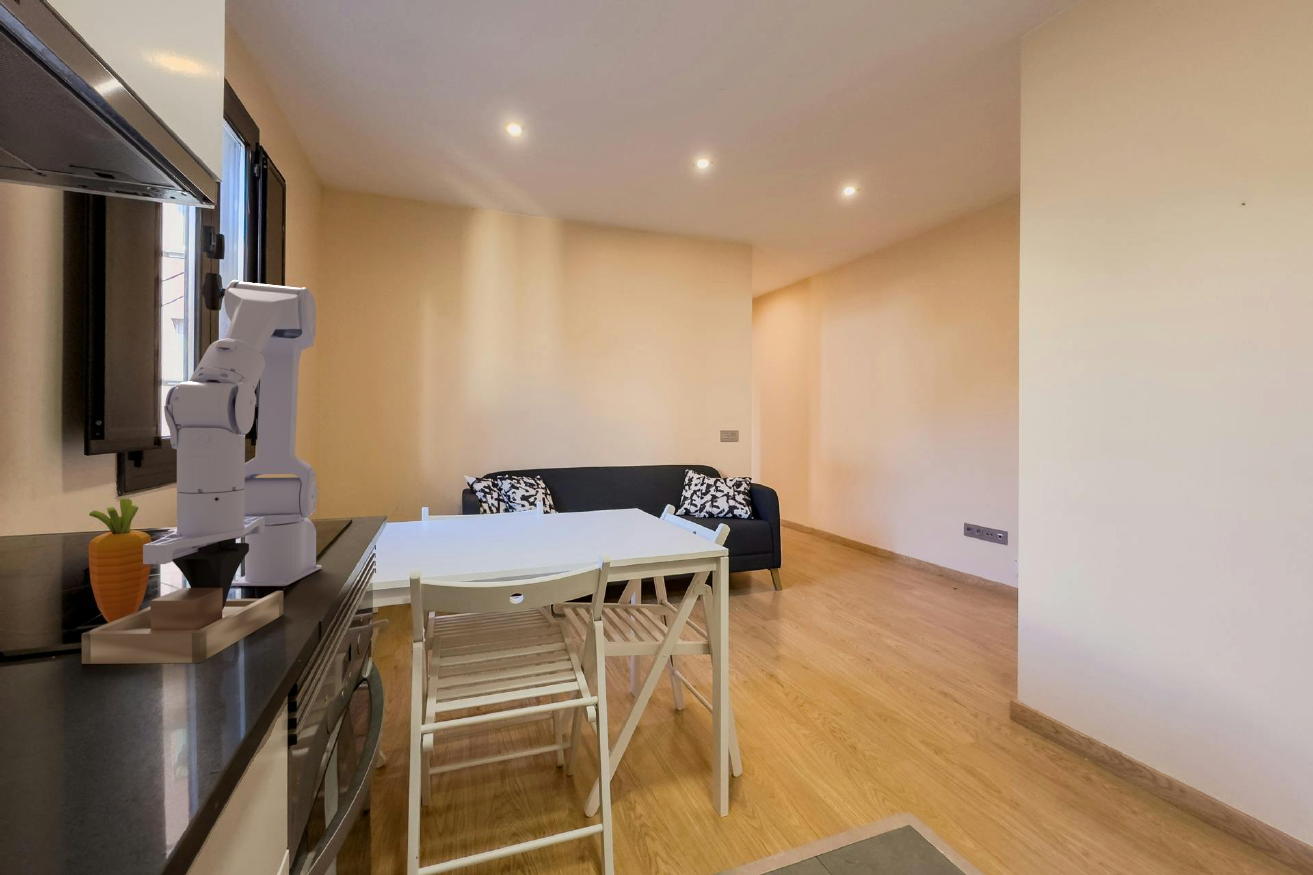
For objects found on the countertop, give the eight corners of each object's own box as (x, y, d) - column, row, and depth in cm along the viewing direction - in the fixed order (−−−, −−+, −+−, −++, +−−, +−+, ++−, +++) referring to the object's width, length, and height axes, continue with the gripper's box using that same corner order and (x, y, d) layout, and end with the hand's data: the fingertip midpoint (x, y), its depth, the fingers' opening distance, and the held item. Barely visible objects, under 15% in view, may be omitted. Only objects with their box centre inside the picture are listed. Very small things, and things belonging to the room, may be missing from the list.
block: (183, 623, 56) (183, 587, 56) (222, 623, 57) (222, 587, 56) (150, 639, 52) (150, 600, 52) (192, 639, 53) (192, 600, 53)
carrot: (118, 641, 56) (119, 504, 56) (74, 639, 56) (74, 502, 56) (163, 623, 61) (164, 497, 61) (122, 621, 61) (122, 496, 61)
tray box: (189, 614, 64) (189, 590, 64) (283, 614, 65) (283, 590, 65) (81, 663, 51) (81, 633, 51) (200, 662, 52) (200, 633, 52)
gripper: (223, 481, 64) (222, 589, 64) (109, 499, 50) (109, 637, 50) (282, 482, 65) (281, 589, 65) (187, 500, 50) (186, 637, 51)
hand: (211, 610), depth 58 cm, fingers closed
